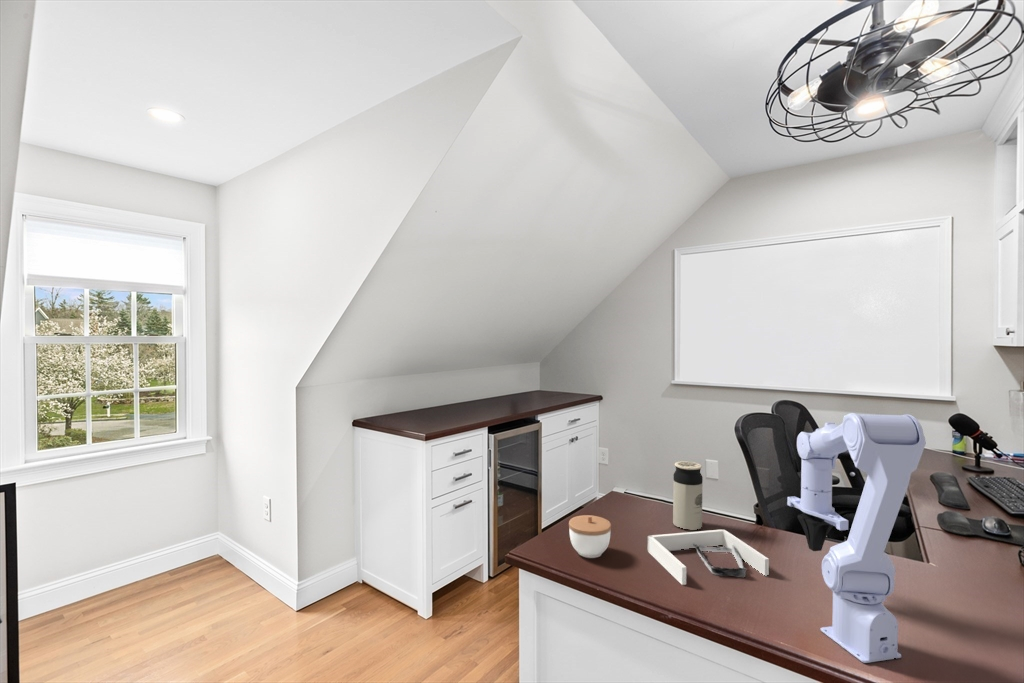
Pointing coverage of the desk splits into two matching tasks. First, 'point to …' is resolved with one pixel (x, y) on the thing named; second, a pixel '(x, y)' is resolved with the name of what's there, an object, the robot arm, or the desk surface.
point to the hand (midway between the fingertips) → (815, 549)
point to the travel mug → (687, 495)
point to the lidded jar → (589, 535)
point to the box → (678, 541)
